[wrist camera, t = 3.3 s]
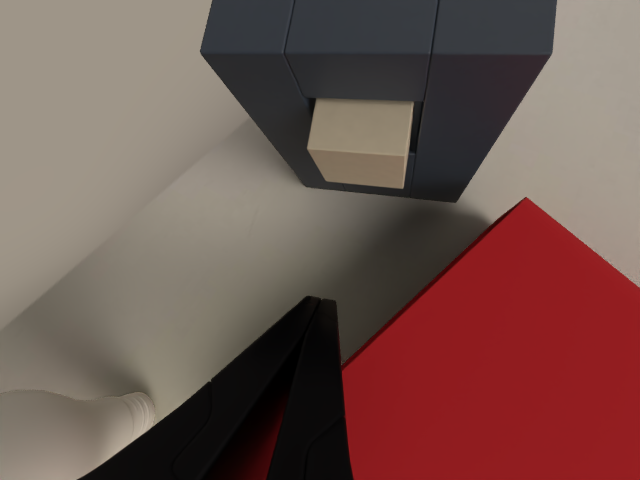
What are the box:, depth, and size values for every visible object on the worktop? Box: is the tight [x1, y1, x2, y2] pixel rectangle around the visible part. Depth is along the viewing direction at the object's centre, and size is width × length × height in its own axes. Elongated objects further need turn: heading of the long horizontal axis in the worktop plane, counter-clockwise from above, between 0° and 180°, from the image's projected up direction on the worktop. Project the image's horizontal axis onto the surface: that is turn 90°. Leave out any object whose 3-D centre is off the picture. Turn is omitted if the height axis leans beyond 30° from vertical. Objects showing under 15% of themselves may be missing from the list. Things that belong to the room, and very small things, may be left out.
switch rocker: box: [307, 98, 415, 189], centre depth 12 cm, size 3×3×3 cm
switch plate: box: [200, 0, 557, 203], centre depth 14 cm, size 2×9×12 cm, turn 80°
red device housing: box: [342, 197, 640, 480], centre depth 14 cm, size 18×14×5 cm
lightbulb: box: [0, 390, 155, 480], centre depth 16 cm, size 6×6×11 cm
